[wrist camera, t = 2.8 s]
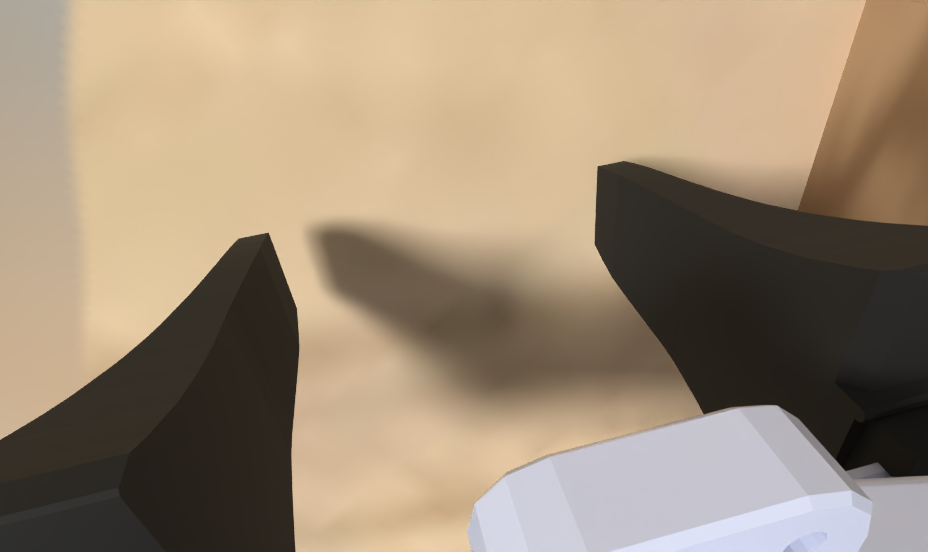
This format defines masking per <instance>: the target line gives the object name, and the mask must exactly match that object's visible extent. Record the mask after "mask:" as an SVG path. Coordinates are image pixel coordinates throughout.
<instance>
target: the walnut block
mask: <svg viewBox="0 0 928 552" xmlns="http://www.w3.org/2000/svg"><path fill="white" fill-rule="evenodd" d="M798 211H800V212H806V213H812V214H818V215H824V216H831V217H839V218H846V219H853V220H861V221H871V222H882V223H894V224H909V225H924V226H928V0H866V4H865V7H864V10H863V13H862V16H861V19H860V22H859V25H858V28H857V31H856V34H855V37H854V40H853V43H852V46H851V50H850V53H849V56H848V59H847V62H846V65H845V68H844V71H843V74H842V77H841V80H840V83H839V86H838V89H837V92H836V96H835V99H834V102H833V105H832V108H831V111H830V114H829V117H828V120H827V123H826V126H825V129H824V132H823V135H822V138H821V142H820V145H819V148H818V151H817V154H816V157H815V160H814V163H813V166H812V169H811V172H810V175H809V178H808V181H807V184H806V188H805V191H804V194H803V197H802V200H801V203H800V206H799V209H798Z"/></svg>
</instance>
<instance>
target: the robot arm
mask: <svg viewBox="0 0 928 552" xmlns="http://www.w3.org/2000/svg"><path fill="white" fill-rule="evenodd" d="M595 246H596V248H597V250H598V252H599V254H600V256H601V258H602V260H603V262H604V263H605V265H606V267H607V269H608V271H609V272H610V274H611V276H612V278H613V279H614V281H615V282H616V283H617V285H618V286H619V287H620V289H621V290H622V292H623V293H624V294H625V296H626V297H627V298H628V300H629V301H630V302H631V304H632V305H633V306H634V308H635V309H636V310H637V312H638V313H639V314H640V316H641V317H642V318H643V320H644V321H645V322H646V324H647V325H648V326H649V327H650V329H651V330H652V331H653V333H654V334H655V335H656V337H657V338H658V339H659V341H660V342H661V343H662V345H663V346H664V348H665V349H666V350H667V352H668V353H669V355H670V356H671V358H672V359H673V361H674V362H675V364H676V366H677V368H678V369H679V371H680V373H681V374H682V376H683V378H684V380H685V381H686V383H687V385H688V386H689V388H690V390H691V392H692V393H693V395H694V397H695V399H696V400H697V402H698V404H699V406H700V408H701V410H702V412H703V413H704V415H700V416H696V417H692V418H688V419H684V420H680V421H676V422H673V423H669V424H665V425H661V426H657V427H653V428H649V429H646V430H642V431H638V432H634V433H630V434H626V435H622V436H618V437H615V438H611V439H607V440H603V441H599V442H595V443H591V444H588V445H584V446H580V447H576V448H572V449H568V450H564V451H560V452H557V453H553V454H549V455H546V456H543V457H541V458H539V459H536V460H534V461H532V462H529V463H527V464H525V465H522V466H520V467H518V468H515V469H513V470H511V471H508V472H507V473H506V474H505V475H503V476H502V477H501V478H500V479H499V480H498V481H497V482H496V483H495V484H494V485H493V486H492V487H491V488H489V489H488V490H487V491H486V492H485V493H484V494H483V495H482V496H481V497H480V498H479V499H478V501H477V502H476V503H475V505H474V509H473V513H472V516H471V520H470V524H469V528H468V537H469V542H470V547H471V552H928V226H924V225H909V224H894V223H882V222H871V221H861V220H853V219H846V218H839V217H831V216H824V215H818V214H812V213H806V212H800V211H795V210H791V209H786V208H781V207H776V206H771V205H767V204H763V203H759V202H755V201H751V200H747V199H744V198H740V197H737V196H733V195H730V194H726V193H723V192H720V191H716V190H713V189H710V188H707V187H704V186H701V185H698V184H695V183H692V182H689V181H686V180H683V179H680V178H677V177H674V176H672V175H669V174H666V173H663V172H660V171H657V170H654V169H651V168H648V167H645V166H641V165H638V164H634V163H630V162H625V161H622V162H617V163H613V164H608V165H603V166H598V170H597V196H596V222H595ZM298 359H299V332H298V318H297V308H296V305H295V302H294V300H293V297H292V294H291V292H290V289H289V286H288V284H287V281H286V278H285V276H284V273H283V270H282V268H281V265H280V262H279V259H278V257H277V254H276V251H275V249H274V246H273V243H272V241H271V238H270V235H269V233H265V234H260V235H255V236H250V237H245V238H240V239H238V240H237V241H236V242H235V243H234V244H233V245H232V246H231V247H230V248H229V250H228V251H227V252H226V253H225V254H224V255H223V257H222V258H221V259H220V260H219V261H218V263H217V264H216V265H215V266H214V267H213V268H212V270H211V271H210V272H209V273H208V274H207V275H206V277H205V278H204V279H203V280H202V281H201V282H200V283H199V285H198V286H197V287H196V288H195V289H194V290H193V291H192V293H191V294H190V295H189V296H188V297H187V298H186V299H185V300H184V301H183V302H182V303H181V304H180V305H179V306H178V307H177V308H176V309H175V310H174V311H173V312H172V313H171V314H170V315H169V316H168V317H167V318H166V320H165V321H164V322H163V323H162V324H161V325H160V326H159V327H157V328H156V329H155V330H154V331H153V332H152V333H151V334H150V335H149V336H148V337H147V338H145V339H144V340H143V341H142V342H141V343H140V344H139V345H137V346H136V347H135V348H134V349H133V350H131V351H130V352H129V353H128V354H127V355H126V356H124V357H123V358H122V359H121V360H119V361H118V362H117V363H116V364H114V365H113V366H112V367H110V368H109V369H108V370H106V371H105V372H103V373H102V374H101V375H99V376H98V377H97V378H95V379H94V380H92V381H91V382H90V383H88V384H87V385H86V386H84V387H83V388H81V389H80V390H79V391H77V392H76V393H75V394H73V395H72V396H70V397H69V398H67V399H66V400H64V401H63V402H61V403H60V404H58V405H57V406H55V407H54V408H52V409H51V410H49V411H47V412H46V413H44V414H43V415H41V416H40V417H38V418H36V419H35V420H33V421H31V422H30V423H28V424H27V425H25V426H23V427H21V428H20V429H18V430H16V431H15V432H13V433H11V434H10V435H8V436H6V437H4V438H3V439H1V440H0V552H295V537H294V517H293V496H292V464H291V448H292V429H293V418H294V406H295V395H296V384H297V371H298Z"/></svg>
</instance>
